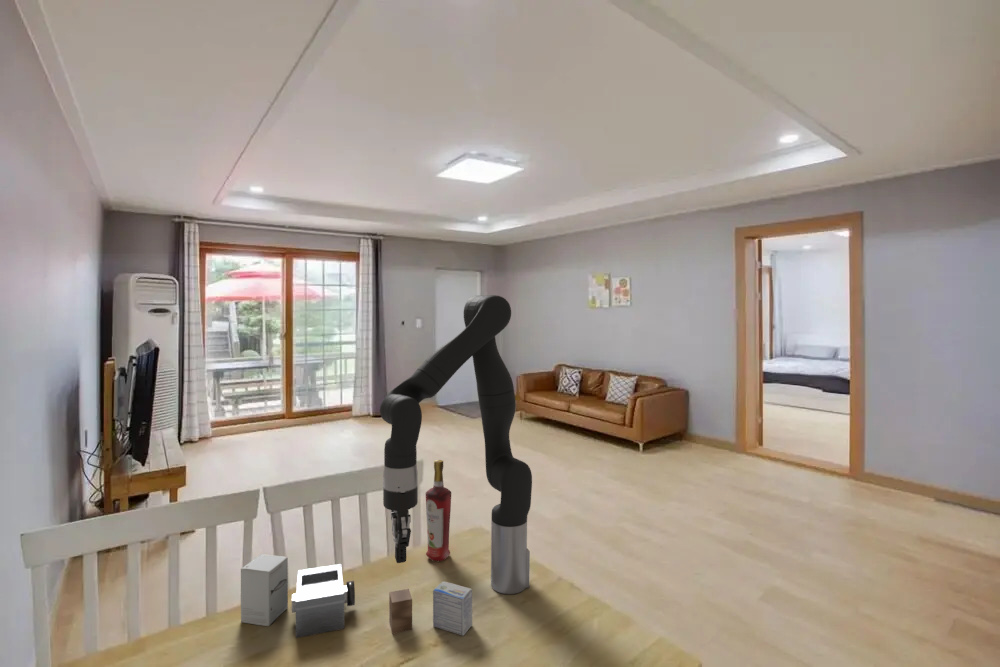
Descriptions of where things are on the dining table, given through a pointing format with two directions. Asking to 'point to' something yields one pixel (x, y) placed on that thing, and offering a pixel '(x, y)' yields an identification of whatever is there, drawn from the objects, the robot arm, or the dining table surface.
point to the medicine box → (452, 608)
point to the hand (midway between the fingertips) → (400, 560)
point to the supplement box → (264, 589)
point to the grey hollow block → (319, 600)
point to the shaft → (348, 595)
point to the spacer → (400, 611)
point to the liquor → (438, 516)
